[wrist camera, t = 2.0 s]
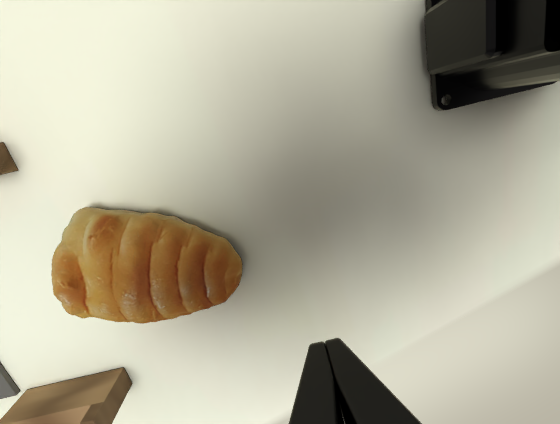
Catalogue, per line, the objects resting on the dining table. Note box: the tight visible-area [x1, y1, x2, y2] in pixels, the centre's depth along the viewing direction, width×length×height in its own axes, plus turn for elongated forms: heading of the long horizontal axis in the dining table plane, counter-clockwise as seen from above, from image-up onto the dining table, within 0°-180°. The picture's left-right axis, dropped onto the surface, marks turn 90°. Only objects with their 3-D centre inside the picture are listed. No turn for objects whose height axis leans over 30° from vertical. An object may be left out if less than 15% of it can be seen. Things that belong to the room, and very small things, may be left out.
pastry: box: [51, 207, 242, 323], centre depth 16 cm, size 9×7×4 cm
